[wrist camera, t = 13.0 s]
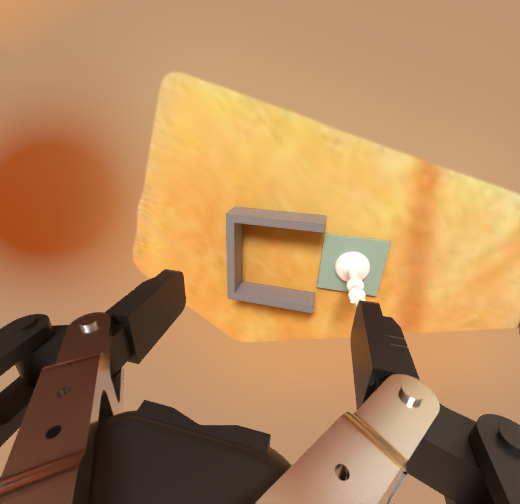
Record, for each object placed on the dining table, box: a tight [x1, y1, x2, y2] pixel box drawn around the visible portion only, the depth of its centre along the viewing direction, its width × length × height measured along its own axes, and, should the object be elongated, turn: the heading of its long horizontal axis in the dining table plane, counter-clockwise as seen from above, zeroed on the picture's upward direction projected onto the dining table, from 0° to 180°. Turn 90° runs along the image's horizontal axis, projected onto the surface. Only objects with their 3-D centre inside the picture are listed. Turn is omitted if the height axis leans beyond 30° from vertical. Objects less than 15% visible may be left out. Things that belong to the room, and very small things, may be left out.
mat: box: [317, 233, 391, 296], centre depth 40 cm, size 9×9×1 cm
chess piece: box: [335, 252, 370, 306], centre depth 35 cm, size 5×5×10 cm
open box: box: [226, 207, 326, 313], centre depth 40 cm, size 14×14×4 cm
